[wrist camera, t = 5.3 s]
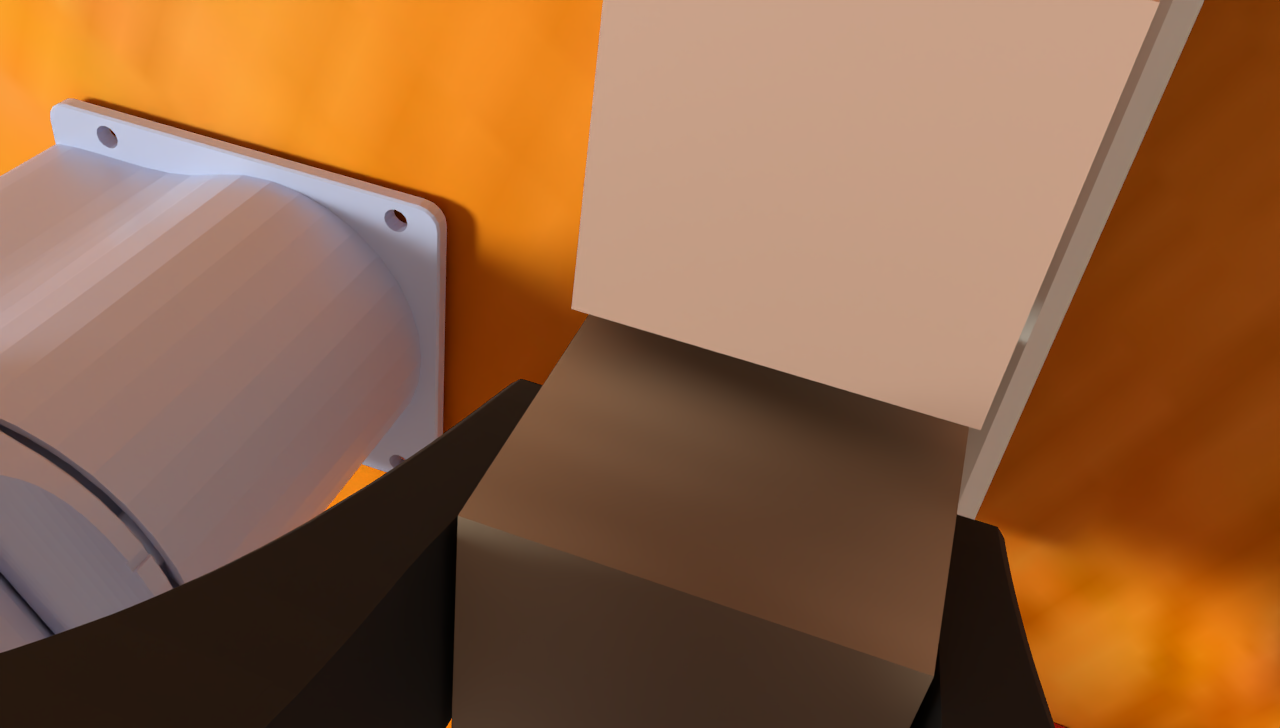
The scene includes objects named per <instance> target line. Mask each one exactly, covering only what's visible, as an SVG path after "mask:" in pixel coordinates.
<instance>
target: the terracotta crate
mask: <svg viewBox="0 0 1280 728" xmlns="http://www.w3.org/2000/svg"><path fill="white" fill-rule="evenodd" d="M1159 3H1160V0H603V6H602V16H601V26H600V35H599V45H598V55H597V65H596V74H595V84H594V94H593V104H592V113H591V123H590V133H589V142H588V152H587V162H586V172H585V181H584V191H583V201H582V211H581V220H580V230H579V240H578V249H577V259H576V269H575V279H574V288H573V298H572V308H571V309H573V310H577V311H580V312H583V313H587V314H590V315H594V316H597V317H600V318H604V319H607V320H610V321H614V322H617V323H621V324H624V325H627V326H631V327H634V328H637V329H641V330H644V331H647V332H651V333H654V334H658V335H661V336H664V337H668V338H671V339H674V340H678V341H681V342H685V343H688V344H691V345H695V346H698V347H701V348H705V349H708V350H711V351H715V352H718V353H722V354H725V355H728V356H732V357H735V358H738V359H742V360H745V361H749V362H752V363H755V364H759V365H762V366H765V367H769V368H772V369H775V370H779V371H782V372H786V373H789V374H792V375H796V376H799V377H802V378H806V379H809V380H813V381H816V382H819V383H823V384H826V385H829V386H833V387H836V388H839V389H843V390H846V391H850V392H853V393H856V394H860V395H863V396H866V397H870V398H873V399H877V400H880V401H883V402H887V403H890V404H893V405H897V406H900V407H903V408H907V409H910V410H914V411H917V412H920V413H924V414H927V415H930V416H934V417H937V418H941V419H944V420H947V421H951V422H954V423H957V424H961V425H964V426H967V427H971V428H974V429H978V430H981V428H982V426H983V423H984V421H985V418H986V416H987V414H988V411H989V409H990V406H991V404H992V402H993V399H994V397H995V395H996V392H997V390H998V387H999V385H1000V383H1001V380H1002V378H1003V375H1004V373H1005V371H1006V368H1007V366H1008V364H1009V361H1010V359H1011V356H1012V354H1013V352H1014V349H1015V347H1016V344H1017V342H1018V340H1019V337H1020V335H1021V332H1022V330H1023V328H1024V325H1025V323H1026V321H1027V318H1028V316H1029V313H1030V311H1031V309H1032V306H1033V304H1034V301H1035V299H1036V297H1037V294H1038V292H1039V290H1040V287H1041V285H1042V282H1043V280H1044V278H1045V275H1046V273H1047V270H1048V268H1049V266H1050V263H1051V261H1052V258H1053V256H1054V254H1055V251H1056V249H1057V247H1058V244H1059V242H1060V239H1061V237H1062V235H1063V232H1064V230H1065V227H1066V225H1067V223H1068V220H1069V218H1070V216H1071V213H1072V211H1073V208H1074V206H1075V204H1076V201H1077V199H1078V196H1079V194H1080V192H1081V189H1082V187H1083V184H1084V182H1085V180H1086V177H1087V175H1088V173H1089V170H1090V168H1091V165H1092V163H1093V161H1094V158H1095V156H1096V153H1097V151H1098V149H1099V146H1100V144H1101V142H1102V139H1103V137H1104V134H1105V132H1106V130H1107V127H1108V125H1109V122H1110V120H1111V118H1112V115H1113V113H1114V111H1115V108H1116V106H1117V103H1118V101H1119V99H1120V96H1121V94H1122V91H1123V89H1124V87H1125V84H1126V82H1127V79H1128V77H1129V75H1130V72H1131V70H1132V68H1133V65H1134V63H1135V60H1136V58H1137V56H1138V53H1139V51H1140V48H1141V46H1142V44H1143V41H1144V39H1145V37H1146V34H1147V32H1148V29H1149V27H1150V25H1151V22H1152V20H1153V17H1154V15H1155V13H1156V10H1157V8H1158V5H1159Z"/></svg>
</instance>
